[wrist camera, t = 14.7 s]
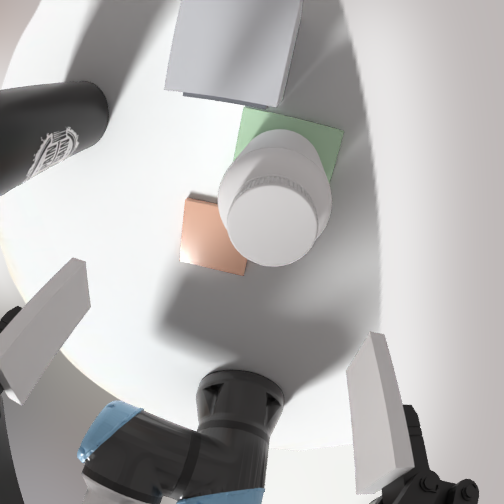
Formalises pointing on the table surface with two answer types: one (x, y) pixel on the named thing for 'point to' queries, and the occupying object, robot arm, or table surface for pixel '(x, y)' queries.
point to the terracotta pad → (208, 239)
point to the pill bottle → (275, 198)
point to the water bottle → (47, 127)
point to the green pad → (317, 134)
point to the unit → (234, 50)
